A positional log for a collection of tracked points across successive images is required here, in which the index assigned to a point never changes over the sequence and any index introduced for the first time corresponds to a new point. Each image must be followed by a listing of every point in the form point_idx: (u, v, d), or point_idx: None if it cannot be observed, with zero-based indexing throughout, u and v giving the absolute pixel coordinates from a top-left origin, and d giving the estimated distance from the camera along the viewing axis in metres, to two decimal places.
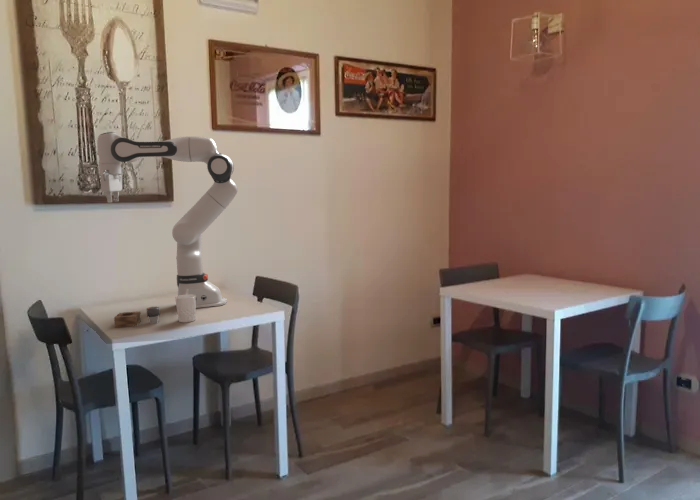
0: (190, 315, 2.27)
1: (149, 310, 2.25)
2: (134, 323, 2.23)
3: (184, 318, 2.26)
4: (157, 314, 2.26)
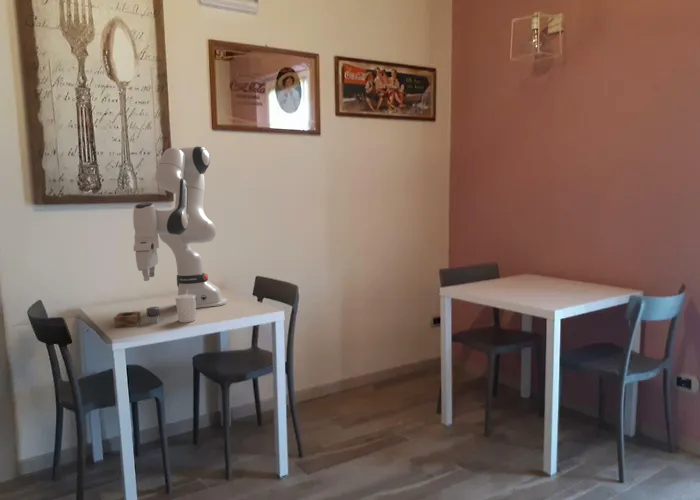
0: (190, 315, 2.27)
1: (149, 310, 2.25)
2: (134, 323, 2.23)
3: (184, 318, 2.26)
4: (157, 314, 2.26)
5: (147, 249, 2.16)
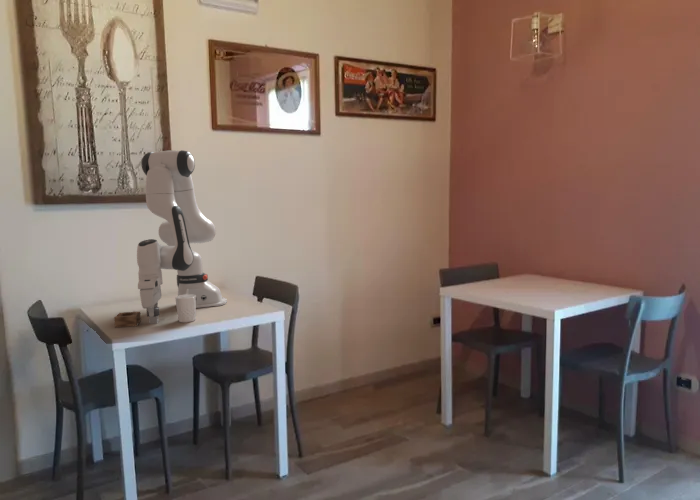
0: (190, 315, 2.27)
1: None
2: (134, 323, 2.23)
3: (184, 318, 2.26)
4: (157, 314, 2.26)
5: (151, 287, 2.18)
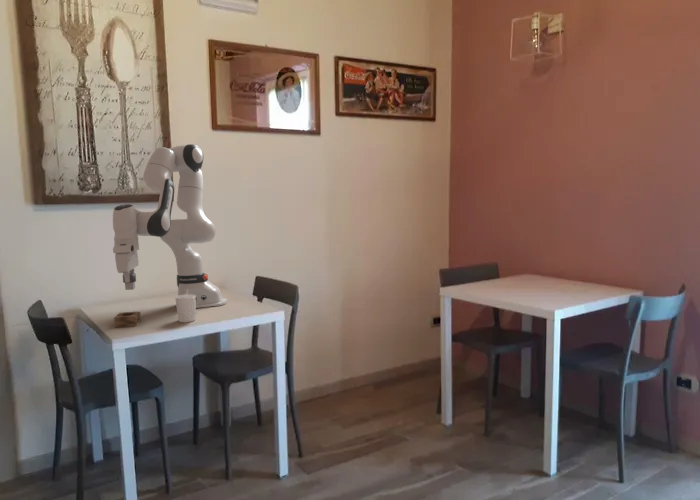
0: (190, 315, 2.27)
1: None
2: (134, 323, 2.23)
3: (184, 318, 2.26)
4: (133, 280, 2.23)
5: (127, 251, 2.15)
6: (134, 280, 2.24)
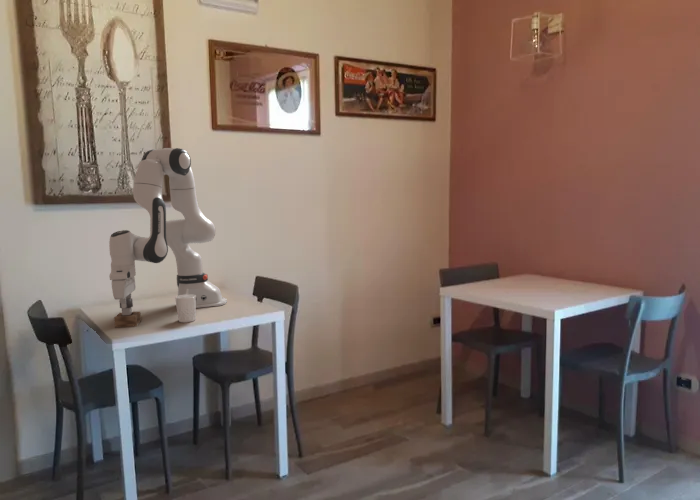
0: (190, 315, 2.27)
1: None
2: (134, 323, 2.23)
3: (184, 318, 2.26)
4: (130, 306, 2.24)
5: (123, 278, 2.16)
6: (131, 305, 2.25)
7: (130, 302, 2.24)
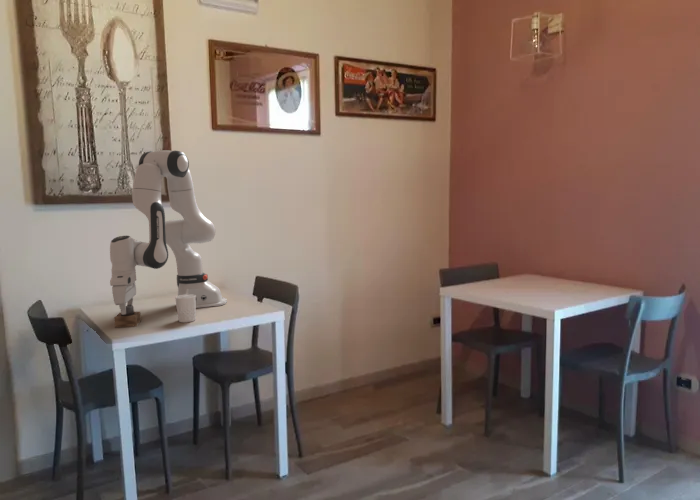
0: (190, 315, 2.27)
1: None
2: (134, 323, 2.23)
3: (184, 318, 2.26)
4: (131, 313, 2.25)
5: (124, 284, 2.16)
6: (132, 313, 2.25)
7: (131, 310, 2.25)
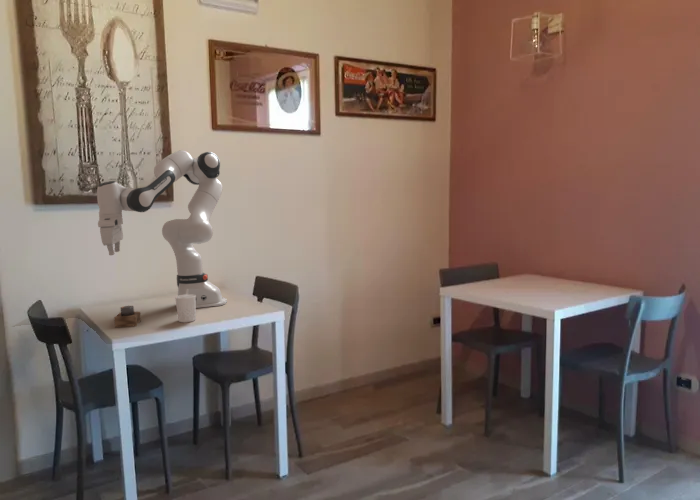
0: (190, 315, 2.27)
1: (123, 309, 2.24)
2: (134, 323, 2.23)
3: (184, 318, 2.26)
4: (131, 313, 2.25)
5: (111, 225, 2.28)
6: (132, 313, 2.25)
7: (131, 310, 2.25)
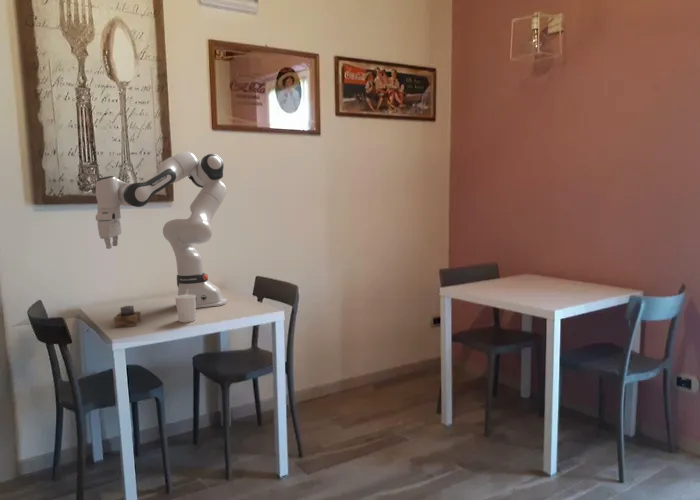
0: (190, 315, 2.27)
1: (123, 309, 2.24)
2: (134, 323, 2.23)
3: (184, 318, 2.26)
4: (131, 313, 2.25)
5: (108, 219, 2.32)
6: (132, 313, 2.25)
7: (131, 310, 2.25)
